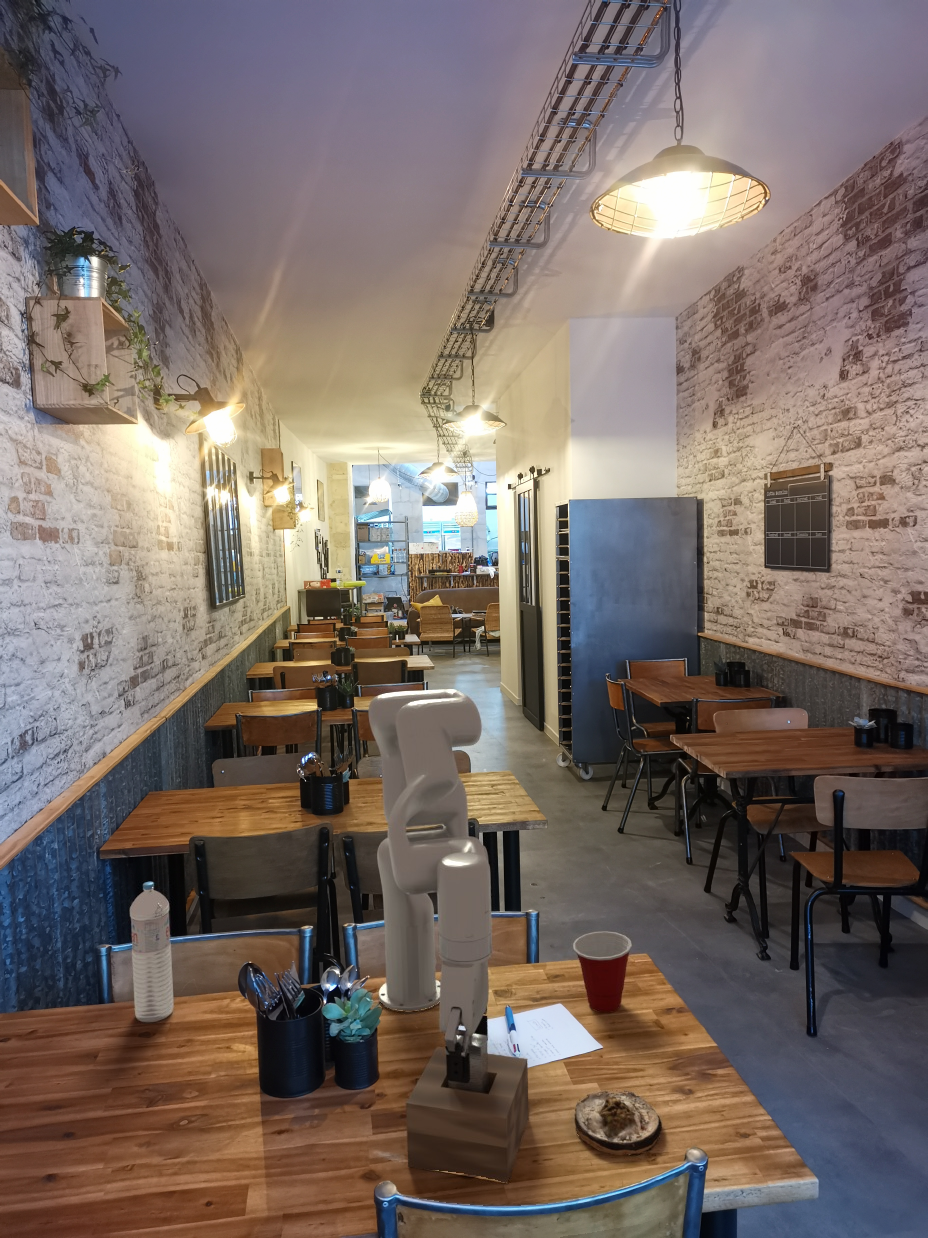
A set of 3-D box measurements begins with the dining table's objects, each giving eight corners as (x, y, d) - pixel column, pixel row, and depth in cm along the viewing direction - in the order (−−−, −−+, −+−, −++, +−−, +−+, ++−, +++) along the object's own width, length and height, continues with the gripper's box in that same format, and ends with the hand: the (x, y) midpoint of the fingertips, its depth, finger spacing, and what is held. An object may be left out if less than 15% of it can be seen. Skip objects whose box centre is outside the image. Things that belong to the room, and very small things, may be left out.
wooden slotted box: (438, 1104, 129) (437, 1047, 128) (528, 1118, 125) (527, 1059, 124) (408, 1166, 115) (406, 1103, 115) (507, 1184, 111) (506, 1118, 111)
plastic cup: (567, 993, 161) (566, 932, 161) (622, 988, 162) (621, 928, 162) (581, 1023, 150) (580, 957, 150) (640, 1018, 152) (639, 953, 151)
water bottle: (166, 1023, 154) (159, 890, 153) (129, 1024, 154) (122, 890, 153) (179, 1004, 161) (173, 876, 160) (143, 1005, 161) (137, 877, 160)
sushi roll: (684, 1163, 115) (684, 1134, 115) (576, 1170, 114) (575, 1140, 114) (655, 1096, 130) (654, 1070, 130) (559, 1102, 129) (558, 1075, 129)
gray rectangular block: (456, 1097, 122) (454, 1030, 121) (488, 1103, 120) (487, 1035, 120) (449, 1110, 119) (447, 1041, 119) (482, 1116, 118) (480, 1047, 117)
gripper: (456, 916, 128) (459, 1025, 129) (420, 969, 111) (423, 1093, 112) (505, 920, 126) (507, 1031, 127) (474, 975, 109) (478, 1102, 110)
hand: (468, 1060), depth 120 cm, fingers open, 9 cm apart
